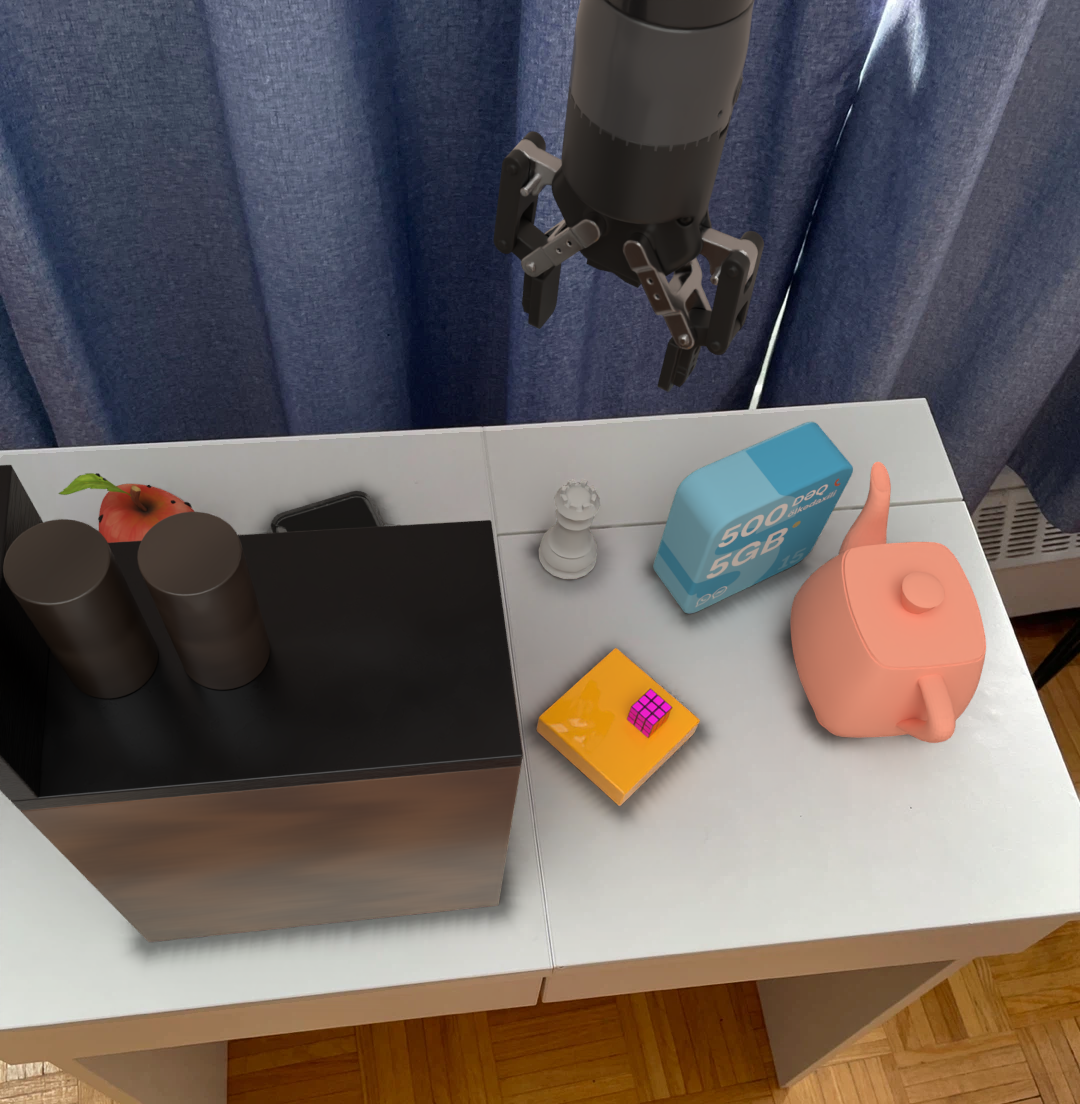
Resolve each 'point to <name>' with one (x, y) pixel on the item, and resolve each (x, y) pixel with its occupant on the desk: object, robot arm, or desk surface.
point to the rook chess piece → (571, 532)
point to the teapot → (888, 633)
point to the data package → (749, 515)
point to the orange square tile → (617, 726)
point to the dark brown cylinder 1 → (82, 607)
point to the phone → (330, 514)
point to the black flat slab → (279, 675)
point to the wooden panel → (293, 852)
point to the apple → (129, 507)
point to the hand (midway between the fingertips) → (605, 349)
